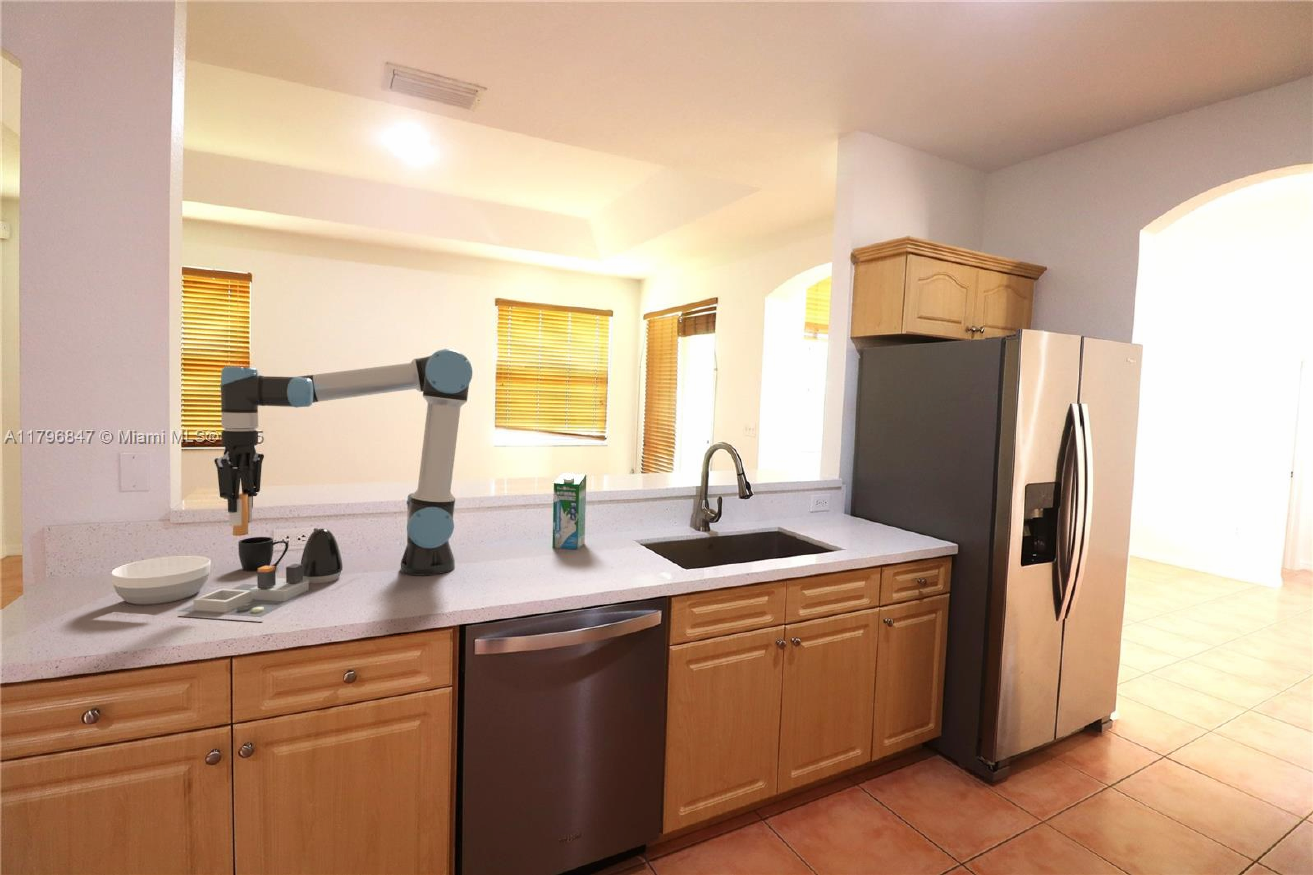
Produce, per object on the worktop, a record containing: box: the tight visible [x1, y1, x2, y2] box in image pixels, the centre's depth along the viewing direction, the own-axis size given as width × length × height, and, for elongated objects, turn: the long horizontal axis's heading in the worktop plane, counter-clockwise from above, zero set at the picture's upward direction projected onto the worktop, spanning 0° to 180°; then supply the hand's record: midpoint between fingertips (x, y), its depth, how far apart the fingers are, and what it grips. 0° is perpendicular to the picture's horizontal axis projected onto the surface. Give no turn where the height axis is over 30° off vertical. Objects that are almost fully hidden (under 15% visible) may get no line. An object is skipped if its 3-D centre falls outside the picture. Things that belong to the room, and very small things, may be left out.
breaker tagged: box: [256, 565, 277, 589], centre depth 150 cm, size 2×3×5 cm
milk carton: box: [552, 472, 587, 550], centre depth 216 cm, size 9×9×25 cm
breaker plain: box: [285, 563, 303, 583], centre depth 155 cm, size 2×3×4 cm
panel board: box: [177, 577, 316, 624], centre depth 150 cm, size 20×20×4 cm
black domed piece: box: [300, 528, 344, 584], centre depth 166 cm, size 10×10×15 cm
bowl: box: [110, 555, 212, 606], centre depth 150 cm, size 19×19×9 cm
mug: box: [237, 536, 290, 572], centre depth 174 cm, size 8×12×10 cm
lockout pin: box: [232, 493, 249, 537], centre depth 154 cm, size 3×3×10 cm
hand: (240, 523), depth 154 cm, fingers closed on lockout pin, 3 cm apart
